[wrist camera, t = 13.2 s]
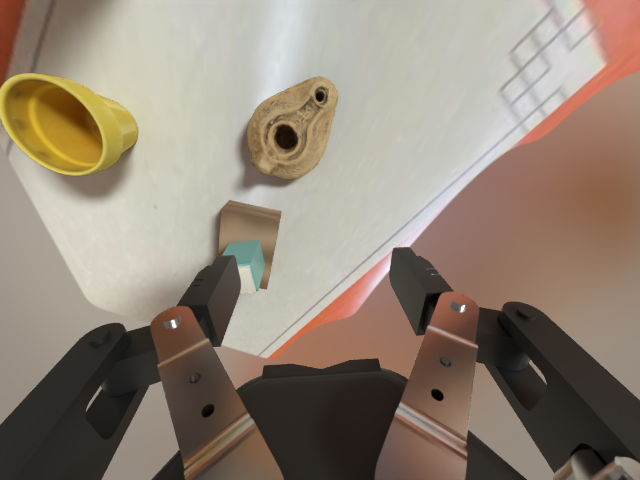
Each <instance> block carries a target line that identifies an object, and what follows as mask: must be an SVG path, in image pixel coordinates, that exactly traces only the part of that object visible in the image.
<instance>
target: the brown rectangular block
mask: <svg viewBox="0 0 640 480" xmlns="http://www.w3.org/2000/svg"><path fill="white" fill-rule="evenodd" d="M281 212H282V211H278V210H273V209H268V208H263V207H258V206H254V205H249V204H244V203H239V202H235V201H230V200H229V202H228V203H227V204H226V205H225V206H224V207H223V209H222V210H221V220H220V236H219V251H218V256H220V255H223V253H224V251H225V249H226V248H227V246H228V244H229V243H234V242H244V241H254V240H260V245H261V249H262V253H263V258H264V262H265V268H264V271H263V275H262V279H261V283H260V287H259V288H261V289H267V286H268V281H269V277H270V272H271V266H272V261H273V255H274V250H275V245H276V239H277V234H278V229H279V223H280V218H281Z"/></svg>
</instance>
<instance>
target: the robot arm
mask: <svg viewBox="0 0 640 480" xmlns="http://www.w3.org/2000/svg"><path fill="white" fill-rule="evenodd" d="M389 276H390V282H391V286H392V288H393V289H394V292H395V294H396V296H397V298H398V300H399V302H400V304H401V306H402V308H403V310H404V312H405V314H406V316H407V318H408V320H409V322H410V324H411V326H412V328H413V330H414V332H415V334H416V335H424V338H423V341H422V343H421V346H420V349H419V352H418V354H417V357H416V360H415V363H414V365H413V368H412V371H411V374H410V376H409V379H407V378H405V377H404V376H402V375H400V374H398V373H396V372H393V371H391V370H387V369H383V368H381V367H380V364H379V360H378V359H361V360H349V361H346V362H343V363H340V364H337V365H334V366H331V367H327V368H324V369H317V368H312V367H307V366H301V365H295V364H282V365H266V366H264V368H263V374H262V376H259V377H257V378H254V379H252V380H250V381H248V382H247V383H245V384H244V385H242V386H241V387H239V388H238V389H237V390H236V389H235V388H234V386H233V384H232V382H231V380H230V378H229V376H228V374H227V372H226V371H225V369H224V367H223V365H222V363H221V361H220V359H219V357H218V355H217V354H216V352H215V350H214V348H213V347H220V346H221V343H222V341H223V338H224V335H225V332H226V330H227V327H228V324H229V321H230V319H231V316H232V313H233V311H234V308H235V305H236V302H237V300H238V297H239V294H240V291H241V279H240V275H239V270H238V266H237V261H236V257H235V256H234V255H220V256H217V258H216V259H215V261H214V263H213V264H212V266H207V267H205V268H204V269H203V270H201V271H200V272H199V273H198V274H197V276H196V277H195V279H194V281H193V282H192V283H191V285H190V287H189V288H188V289H187V291H186V292H185V294H184V295H183V297H182V298H181V300H180V301H179V303H178V304H177V306H176V307H173V308H170V309H167V310H165V311H163V312H162V313H160V314H159V315H158V316H156V317H155V318H154V319H153V321H152V322H151V325H149V326H146V327H142V328H139V329H135V330H131V331H128V332H127V331H126V329H125V327H124V326H123V325H122V324H120V323H111V324H106V325H103V326H100V327H98V328H96V329H93V330H92V331H90V332H88V333H87V334H85V335H84V336H83V337H82V338H81V339H79V341H78V342H77V343H76V344H75V345H74V346H73V347H72V348H71V349H70V350H69V351H68V352H67V354H65V356H64V357H63V358H62V359H61V360H60V361H59V362H58V363H57V364H56V365H55V366H54V368H53V369H52V370H51V371H50V372H49V373H48V374H47V375H46V376H45V377H44V378H43V379H42V381H41V382H40V383H39V384H38V385H37V386H36V387H35V388H34V389H33V390H32V391H31V392H30V393H29V394H28V396H27V397H26V398H25V399H24V400H23V401H22V402H21V403H20V404H19V405H18V407H16V409H15V410H14V411H13V412H12V413H11V414H10V415H9V416H8V417H7V418H6V419H5V420H4V422H3V423H2V424H1V425H0V480H101V479H102V477H103V475H104V473H105V471H106V470H107V468H108V466H109V464H110V462H111V460H112V458H113V456H114V454H115V452H116V450H117V448H118V446H119V444H120V442H121V440H122V438H123V436H124V434H125V432H126V430H127V428H128V427H129V425H130V423H131V421H132V419H133V417H134V415H135V413H136V411H137V409H138V407H139V405H140V403H141V401H142V399H143V397H144V395H145V393H146V391H147V389H148V387H149V385H151V384H154V383H157V382H160V381H162V385H163V389H164V392H165V396H166V400H167V404H168V408H169V411H170V415H171V419H172V423H173V426H174V430H175V434H176V438H177V441H178V445H179V449H180V450H179V451H178V452H177V453H176V454H175V455H174V456H173V457H172V458H171V459H170V460H169V461H168V462H167V464H166V465H165V466H164V467H163V468H162V469H161V470H160V471H159V472H158V473H157V474H156V476H154V477H153V479H152V480H527V479H526V478H524V477H523V476H522V475H521V474H520V473H518V472H517V471H516V470H515V469H514V468H513V467H511V466H510V465H509V464H508V463H507V462H506V461H504V460H503V459H502V458H501V457H499V456H498V455H497V454H496V453H495V452H494V451H493V450H491V449H490V448H489V447H488V446H487V445H486V444H484V443H483V442H482V441H481V440H480V439H479V438H477V437H476V436H475V435H474V434H473V433H471V432H470V431H469V430H468V425H469V417H470V408H471V400H472V392H473V383H474V376H475V367H476V362H478V363H483V364H485V366H486V368H487V369H488V370H489V372H490V374H491V375H492V377H493V378H494V380H495V381H496V383H497V385H498V386H499V388H500V389H501V391H502V392H503V394H504V396H505V397H506V399H507V400H508V402H509V403H510V405H511V406H512V408H513V409H514V411H515V413H516V414H517V416H518V417H519V419H520V420H521V422H522V423H523V425H524V427H525V428H526V430H527V431H528V433H529V434H530V436H531V438H532V439H533V441H534V442H535V444H536V445H537V447H538V448H539V450H540V452H541V453H542V455H543V456H544V458H545V459H546V461H547V462H548V464H549V466H550V467H551V469H552V470H553V472H554V473H555V474H554V477H553V480H640V400H639V399H638V398H637V397H635V396H634V395H633V394H632V393H631V392H630V391H629V390H628V389H627V388H626V387H624V386H623V385H622V384H621V383H620V382H619V381H618V380H617V379H616V378H614V377H613V376H612V375H611V374H610V373H609V372H608V371H607V370H606V369H605V368H604V367H602V366H601V365H600V364H599V363H598V362H597V361H596V360H595V359H594V358H593V357H591V356H590V355H589V354H588V353H587V352H586V351H585V350H584V349H582V347H580V346H579V345H578V344H577V343H576V342H575V341H574V340H573V339H572V338H571V337H569V336H568V335H567V334H566V333H565V332H564V331H563V330H562V329H561V328H560V327H558V326H557V325H556V324H555V323H554V322H553V321H552V320H551V319H550V318H549V317H547V316H546V315H545V314H544V313H543V312H541V311H540V310H538V309H537V308H535V307H533V306H530V305H528V304H524V303H521V302H507V303H505V304H504V305H503V308H502V310H501V311H498V310H492V309H486V308H481V307H479V306H478V304H477V303H476V302H475V301H474V300H473V299H472V298H470V297H468V296H466V295H464V294H461V293H457V292H454V291H453V290H452V289H451V287H450V286H449V285H448V284H447V283H446V281H445V280H444V279H443V278H442V277H441V276H440V275H439V273H438V272H437V270H435V269H434V267H433V266H432V264H431V263H430V262H429V261H427V260H426V259H424V258H422V257H421V256H416V255H415V253H414V252H413V251H412V249H410V247H399V248H394V249H393V251H392V258H391V266H390V274H389ZM530 360H532V362H533V363H534V364H535V365H536V366H537V367H538V368H539V370H540V371H541V372H542V374H543V375H544V377H545V379H546V382H547V385H546V384H545V383H544V382H543V380H542V379H541V377H540V376H539V375H538V374H537V373H536V372H535V370H534V369H533V368H532V367H531V365H530V364H529V361H530ZM100 386H101V388H102V390H101V391H100V392H99V394H98V395H97V397H96V398H95V400H94V401H93V403H92V404H91V406H90V407H89V408H88V410H87V412H86V408H87V406H88V404H89V402H90V400H91V399H92V397H93V396H94V394H95V393H96V391H97V390H98V388H99V387H100Z"/></svg>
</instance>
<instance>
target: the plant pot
mask: <svg viewBox="0 0 640 480" xmlns="http://www.w3.org/2000/svg"><path fill="white" fill-rule="evenodd" d="M0 119H1V121H2V124H3V126H4V128H5V130H6V131H7V133H8V135H9V136H10V137H11V139H12V140H13V141H14V143H15V144H16V145H17V146H18V147H19V148H20V149H21V150H22V151H23V152H24V153H25V154H26V155H27V156H29V157H30V158H31V159H32V160H34V161H35V162H37V163H38V164H40V165H42V166H43V167H45V168H47V169H49V170H52V171H54V172H57V173H60V174H64V175H70V176H84V175H89V174H92V173H96V172H99V171H101V170H104V169H106V168H109V167H110V166H112V165H113V164H114V163H116V161H117V160H118V159H119V157H120V155H121V153H123V152H124V151H126V150H127V149H129V148H130V147H132V146H133V145H134V144H135V142H136V140H137V138H138V128H137V125H136V122H135V120H134V118H133V117H132V115H131V114H130V113H129V112H128V111H127V110H126V109H125V108H124V107H123V106H122V105H120V104H119V103H117V102H115V101H113V100H110V99H108V98H105V97H102V96H100V95H97V94H95V93H94V92H93V91H91V90H90V89H88V88H87V87H85V86H83V85H81V84H79V83H77V82H75V81H72V80H69V79H65V78H61V77H56V76H51V75H44V74H36V73H22V74H18V75H15V76H13V77H11V78H9V79H8V80H7V81H6V82H4V84H3V85H2V86H1V88H0Z"/></svg>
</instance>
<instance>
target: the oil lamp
mask: <svg viewBox="0 0 640 480" xmlns="http://www.w3.org/2000/svg"><path fill="white" fill-rule="evenodd" d="M337 100H338V92H337V89H336V88H335V86H334V84H333V83H332V82H331V81H330V80H328V79H326V78H324V77H314V78H311V79H308V80H306V81H303V82H301V83H299V84H296V85H294V86H292V87H290V88H288V89H286V90H284V91H282V92H280V93H278V94H276V95H274V96H272V97H270V98H268V99H267V100H265V101H264V102H262V103H261V104H260V105H259V106H258V107H257V108H256V110H255V112H254V114H253V116H252V118H251V120H250V122H249V124H248V129H247V142H248V147H249V150H250V152H251V153H252V158H251V163H252V164H253V165H254V166H255V167H256V168H257V169H258V170H259V171H260V172H261V173H263V174H266V175H269V176H271V175H272V176H277V177H280V178H284V179H294V178H299V177H302V176H303V175H305V174H307V173H308V172H309V171H311V170H312V169H313V168H315V167H316V166H317V165H318V163H319V161H320V159H321V157H322V156H323V153H324V151H325V148H326V146H327V142H328V139H329V135H330V130H331V125H332V120H333V117H334V113H335V108H336V105H337Z"/></svg>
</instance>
